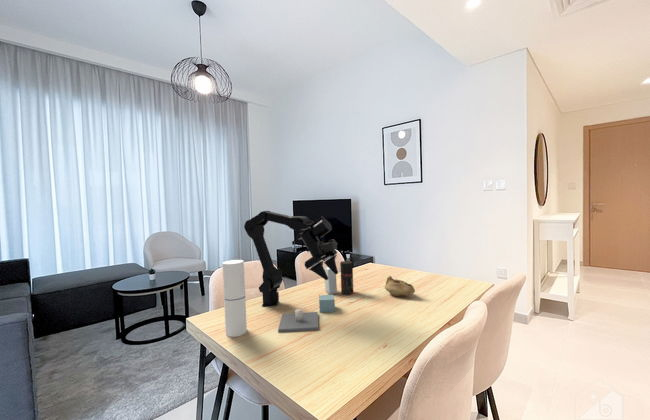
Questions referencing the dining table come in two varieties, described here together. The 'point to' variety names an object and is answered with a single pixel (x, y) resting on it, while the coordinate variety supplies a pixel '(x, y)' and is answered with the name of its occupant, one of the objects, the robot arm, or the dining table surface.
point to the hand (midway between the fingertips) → (332, 276)
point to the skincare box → (330, 281)
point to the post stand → (298, 321)
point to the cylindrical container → (234, 298)
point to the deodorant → (346, 277)
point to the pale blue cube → (326, 303)
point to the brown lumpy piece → (398, 287)
